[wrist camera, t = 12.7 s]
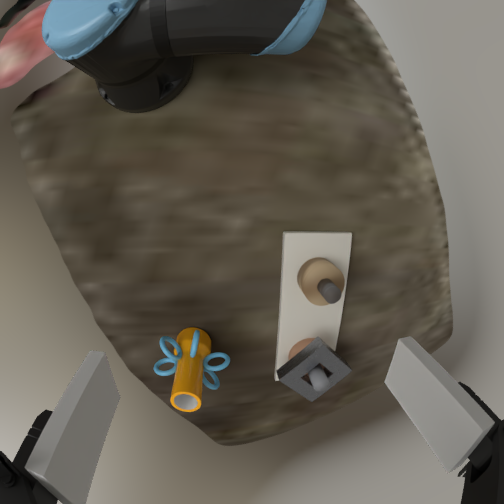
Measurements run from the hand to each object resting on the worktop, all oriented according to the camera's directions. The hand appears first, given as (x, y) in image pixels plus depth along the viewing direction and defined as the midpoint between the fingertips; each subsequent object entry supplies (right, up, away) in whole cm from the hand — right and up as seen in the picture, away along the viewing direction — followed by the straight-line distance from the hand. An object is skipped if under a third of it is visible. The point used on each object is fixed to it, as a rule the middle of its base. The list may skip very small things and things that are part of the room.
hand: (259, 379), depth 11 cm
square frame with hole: (+10, -14, +33) cm, 37 cm away
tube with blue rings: (-10, -10, +35) cm, 38 cm away
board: (+10, -5, +35) cm, 37 cm away
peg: (+10, -13, +36) cm, 40 cm away
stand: (+10, +1, +32) cm, 34 cm away
